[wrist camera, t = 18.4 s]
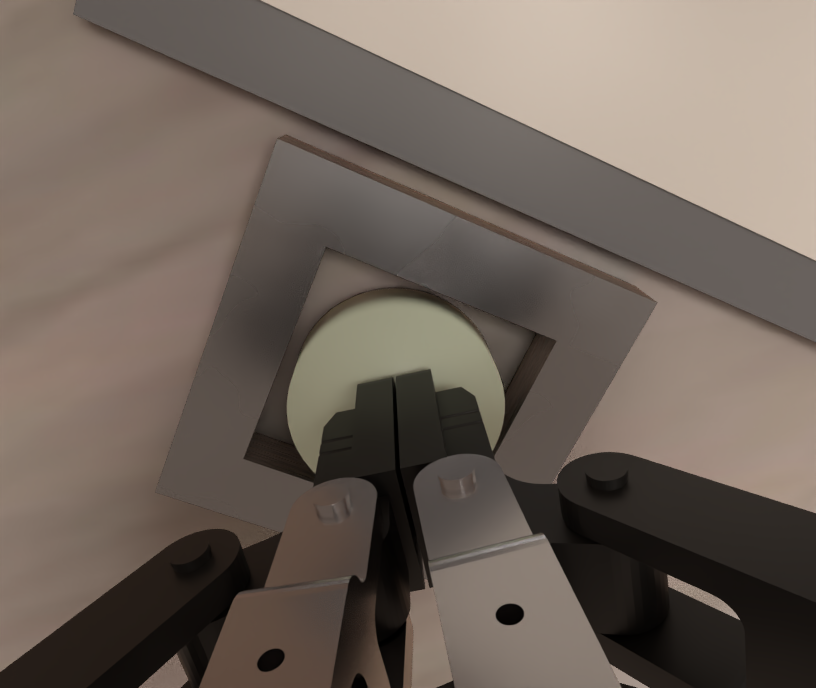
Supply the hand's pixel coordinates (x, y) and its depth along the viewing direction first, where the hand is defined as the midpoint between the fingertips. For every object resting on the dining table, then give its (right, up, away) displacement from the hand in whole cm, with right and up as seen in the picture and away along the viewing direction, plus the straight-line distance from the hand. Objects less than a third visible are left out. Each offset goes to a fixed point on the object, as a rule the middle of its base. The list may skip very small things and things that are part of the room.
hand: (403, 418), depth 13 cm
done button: (0, +1, +1) cm, 1 cm away
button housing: (0, +1, +2) cm, 2 cm away
